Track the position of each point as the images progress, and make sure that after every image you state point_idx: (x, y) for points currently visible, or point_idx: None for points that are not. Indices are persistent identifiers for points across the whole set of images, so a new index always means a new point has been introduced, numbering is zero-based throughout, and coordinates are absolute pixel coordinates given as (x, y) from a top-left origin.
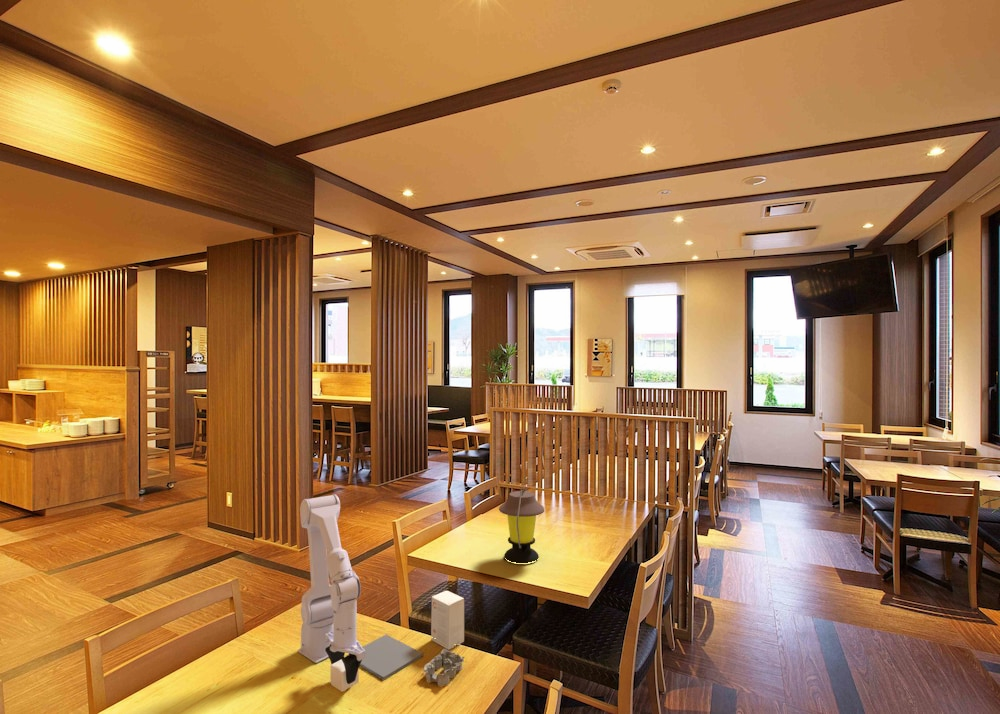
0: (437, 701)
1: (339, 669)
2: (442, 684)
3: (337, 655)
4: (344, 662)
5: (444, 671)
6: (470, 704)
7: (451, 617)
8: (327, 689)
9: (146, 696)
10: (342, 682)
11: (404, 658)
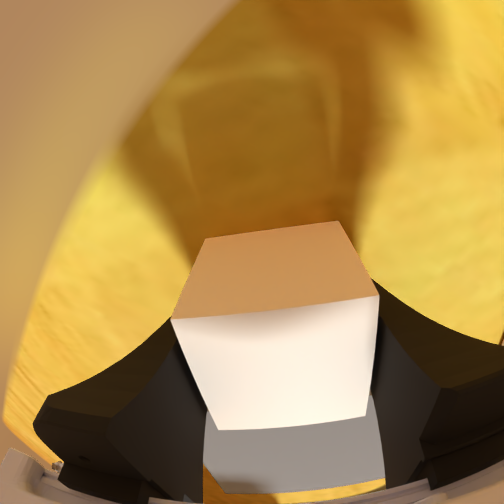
0: (19, 401)
1: (234, 323)
2: None
3: (392, 396)
4: (85, 405)
5: (57, 471)
6: (5, 416)
7: None
8: (299, 179)
9: None
10: (193, 271)
11: (238, 474)
